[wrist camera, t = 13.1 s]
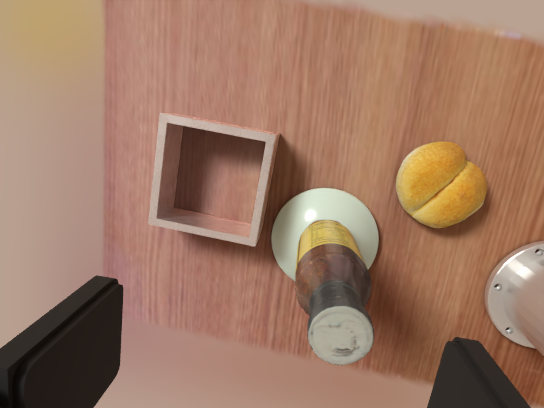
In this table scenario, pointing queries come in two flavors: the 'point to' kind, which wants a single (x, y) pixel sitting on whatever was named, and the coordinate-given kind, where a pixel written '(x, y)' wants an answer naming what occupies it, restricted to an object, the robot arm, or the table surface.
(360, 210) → the saucer
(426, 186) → the bread roll
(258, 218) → the square storage bin
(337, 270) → the sauce bottle
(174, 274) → the table surface
